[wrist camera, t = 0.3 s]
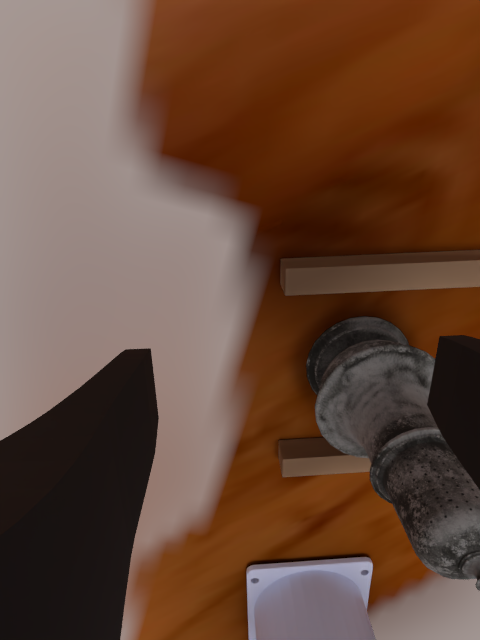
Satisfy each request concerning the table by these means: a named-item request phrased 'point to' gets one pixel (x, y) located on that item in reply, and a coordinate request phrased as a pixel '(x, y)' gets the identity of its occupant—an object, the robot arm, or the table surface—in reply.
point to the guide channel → (363, 277)
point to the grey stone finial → (397, 438)
